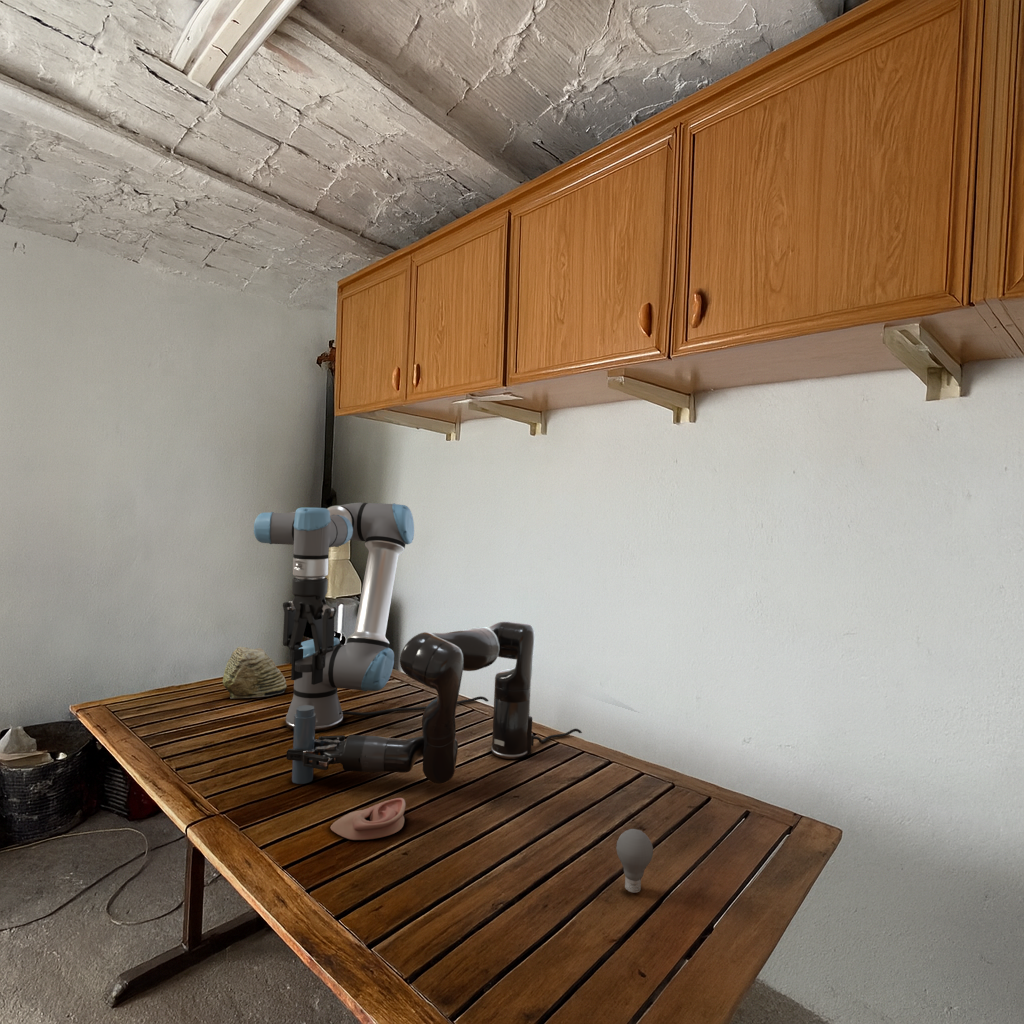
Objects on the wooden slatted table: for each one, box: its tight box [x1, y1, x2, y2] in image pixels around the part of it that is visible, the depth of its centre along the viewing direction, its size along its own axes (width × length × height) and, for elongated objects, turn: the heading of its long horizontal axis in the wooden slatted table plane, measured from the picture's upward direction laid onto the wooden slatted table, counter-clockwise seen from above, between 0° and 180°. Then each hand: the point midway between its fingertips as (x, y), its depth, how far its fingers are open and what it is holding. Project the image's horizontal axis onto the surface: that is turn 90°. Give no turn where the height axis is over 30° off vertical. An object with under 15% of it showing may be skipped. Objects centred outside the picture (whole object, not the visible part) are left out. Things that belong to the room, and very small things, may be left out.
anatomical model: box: [330, 797, 407, 841], centre depth 123 cm, size 13×4×12 cm
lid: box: [295, 658, 312, 673], centre depth 141 cm, size 5×5×2 cm
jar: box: [291, 705, 316, 785], centre depth 141 cm, size 5×5×16 cm
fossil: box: [222, 646, 288, 699], centre depth 198 cm, size 9×18×15 cm, turn 132°
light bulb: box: [615, 828, 654, 894], centre depth 106 cm, size 6×6×10 cm
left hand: (306, 680), depth 141 cm, fingers closed on lid, 5 cm apart
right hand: (291, 749), depth 141 cm, fingers closed on jar, 4 cm apart
